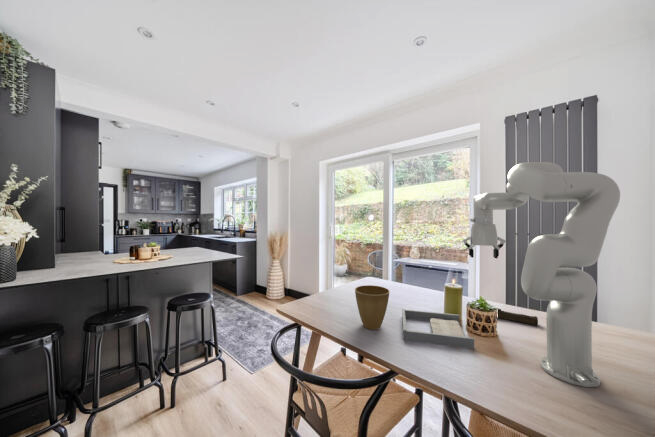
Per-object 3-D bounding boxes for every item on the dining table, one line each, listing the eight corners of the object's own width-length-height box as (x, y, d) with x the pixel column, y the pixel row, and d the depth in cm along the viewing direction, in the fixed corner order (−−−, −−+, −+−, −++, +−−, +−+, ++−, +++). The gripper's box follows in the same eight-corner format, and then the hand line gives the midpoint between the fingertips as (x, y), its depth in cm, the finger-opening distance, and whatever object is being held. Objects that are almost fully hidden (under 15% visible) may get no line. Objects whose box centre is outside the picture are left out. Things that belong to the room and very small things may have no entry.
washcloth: (457, 325, 104) (457, 318, 104) (468, 347, 87) (468, 338, 87) (428, 322, 108) (428, 315, 108) (433, 342, 91) (433, 334, 91)
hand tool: (537, 324, 104) (537, 314, 104) (538, 327, 101) (538, 317, 101) (486, 314, 116) (485, 304, 116) (485, 316, 113) (485, 307, 113)
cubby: (474, 349, 85) (474, 339, 85) (403, 339, 92) (403, 330, 92) (458, 322, 106) (458, 314, 106) (402, 316, 113) (402, 309, 113)
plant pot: (388, 336, 94) (388, 296, 94) (351, 331, 99) (351, 293, 99) (391, 321, 108) (390, 286, 108) (358, 317, 113) (358, 283, 113)
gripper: (464, 221, 110) (464, 258, 110) (508, 221, 105) (508, 259, 105) (460, 221, 117) (461, 255, 117) (501, 220, 112) (502, 257, 112)
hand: (483, 257), depth 111 cm, fingers open, 9 cm apart
